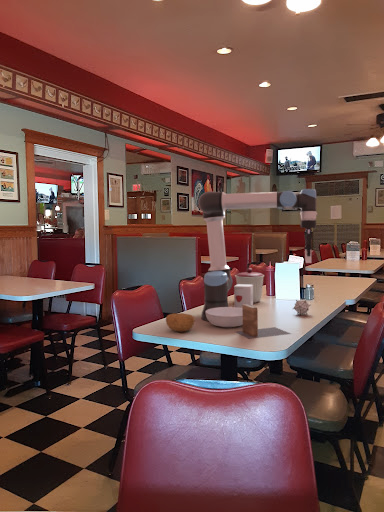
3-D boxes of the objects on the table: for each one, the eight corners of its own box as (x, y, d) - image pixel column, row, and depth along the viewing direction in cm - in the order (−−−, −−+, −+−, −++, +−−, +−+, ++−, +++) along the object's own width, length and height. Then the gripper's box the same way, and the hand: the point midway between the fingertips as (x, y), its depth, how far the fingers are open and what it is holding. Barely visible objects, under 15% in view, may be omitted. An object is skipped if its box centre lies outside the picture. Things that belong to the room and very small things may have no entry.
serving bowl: (214, 332, 177) (214, 317, 176) (200, 322, 197) (199, 308, 196) (258, 328, 182) (258, 313, 182) (240, 319, 203) (239, 305, 202)
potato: (173, 327, 189) (173, 310, 188) (199, 330, 181) (198, 313, 181) (160, 331, 181) (160, 314, 180) (186, 335, 173) (186, 317, 173)
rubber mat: (248, 339, 164) (248, 338, 164) (234, 332, 176) (234, 331, 176) (291, 334, 171) (291, 333, 171) (274, 328, 183) (274, 327, 183)
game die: (298, 322, 211) (287, 307, 210) (302, 313, 218) (290, 299, 217) (313, 315, 205) (301, 300, 205) (316, 306, 212) (304, 291, 212)
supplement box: (234, 314, 217) (233, 286, 216) (237, 310, 225) (236, 283, 224) (251, 314, 214) (250, 286, 213) (253, 311, 223) (253, 284, 222)
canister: (252, 305, 241) (251, 269, 240) (229, 302, 254) (228, 268, 253) (270, 301, 253) (270, 267, 252) (248, 298, 266) (247, 266, 265)
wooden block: (252, 336, 167) (252, 307, 166) (242, 332, 175) (242, 304, 175) (258, 336, 168) (257, 307, 167) (247, 331, 176) (247, 304, 176)
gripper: (317, 219, 193) (317, 263, 194) (315, 220, 217) (314, 260, 218) (301, 219, 195) (300, 263, 196) (300, 220, 219) (300, 260, 220)
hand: (308, 261), depth 207 cm, fingers open, 13 cm apart
